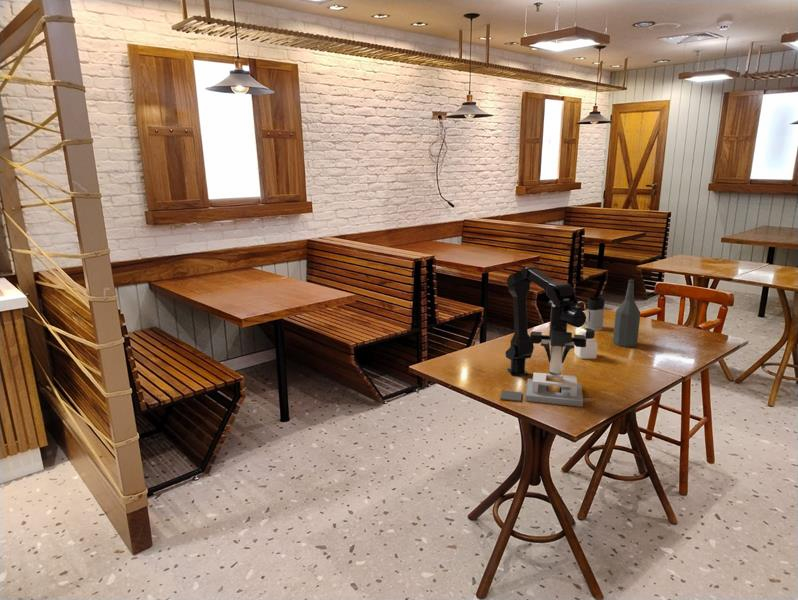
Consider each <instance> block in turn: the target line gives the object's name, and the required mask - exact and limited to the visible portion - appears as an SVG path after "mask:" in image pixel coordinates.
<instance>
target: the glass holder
mask: <svg viewBox="0 0 798 600" xmlns="http://www.w3.org/2000/svg"><path fill="white" fill-rule="evenodd" d="M605 301H606V299H605V298H603V297H597V296H592V297H588V301H587V302H588V304H587V308H586V303H585V301H582V300H581V301H580V300H579V301H577V302H578V304H579V303H583V305H584V310H585V311H586V321H585V326H584V328H590V329H593V330H594V331H603V330H604V316H605ZM575 306H578V305H575ZM602 329H603V330H602Z"/></svg>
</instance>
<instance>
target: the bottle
mask: <svg viewBox="0 0 798 600" xmlns="http://www.w3.org/2000/svg"><path fill="white" fill-rule="evenodd" d="M627 281H628V284H627V289H626V292H625V296H624V300H623V302H622V303H621V304H620V305H619V306H618V308H617V309H616V310H615V315H614V325H613V326H614V327H613V338H612V342H613V344H614V345H616V346H619V347H621V348H622V347H623V348H633V347H636V345H638V341H639V340H638V339H639V331H640V321H641V311H640V309H639V308H638V305H637V303H636V302H635V298H634V297H635V293H634V291H635V289H634V288H635V284H634V283H635V280H634V279H628V280H627Z"/></svg>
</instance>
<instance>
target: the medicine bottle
mask: <svg viewBox="0 0 798 600" xmlns="http://www.w3.org/2000/svg"><path fill="white" fill-rule="evenodd" d="M595 332H596V330H593V329H590V328H585V327H584V328H580V329H579V334H578V335H584V336H585V337H586V347H576V346H575V345H574V350H573V351H574V354H575V356H576V357H578V358H579V359H580V360H585V359H586V360H587V359H588V360H590V359H592V360H593V359H595V360H596V359H597V356H598V355H597V353H598V346H599V345H598V342H597V341H596V340H595V335H596V334H595Z"/></svg>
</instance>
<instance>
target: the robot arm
mask: <svg viewBox="0 0 798 600" xmlns="http://www.w3.org/2000/svg"><path fill="white" fill-rule="evenodd" d="M532 283H533V284H534V285H537V286H538V287H539V288H541V289H542V290H543V291H545V295H546V296H547V297H548V298H549V299H550V300H549V301H548V302H547V305H549V306H551V309H550V322H549V331H548V332H549V334H548V335H547V334H545V335H544V334H543V332H542V331H531V332H530V334H529V333H528V312H527V311H528V310H527V295H528V293H529V291H530V290H531V289H530V288H531V284H532ZM506 284H507V289H508V292H509V294H510V295H511V296H512V305H513V306H512V307H513V308H512V309H513V310H512V311H513V327H514V330H513V331H514V334H513V336H512V337H511V340H510V346H509V348H508V349H507V350H506V351H505V358H507V359H509V361H510V368H509V367H508V368H507V371H508V373H509V374H510V373H511V374H510V375H511V376H513V375H514V376H528V375H529V374H528V371H526V363H527V360H526V359H531V358H532V355H533V353H534V349H535V345H534V344H538V345H539V344H540V346H541V347H543V348H544V349H545V353H546V356H547V360H548V363H550V357H551V346H560V347H563V355H562V364H563V363H564V362H565V360H566V358H567V355H568V353H569V352H570V351H571V350H572V349H575V346H576V347H586V337H585V336H584V335H579V334H575V333H574V334H573V333H572V332H569V331H568V325H570V326H572V327H574V328H581V327H583V326H584V325H585V324H586V322H585V321H586V320H587V314H586V313H585V312H584V311H583V307H582V306H578V305H579V303H578V302H579V301H578V298H577V297H576V295H575V292H574V289H573V287H572V285H571V284H569V283H567V282H564V281H561V280H560V281H559V280H555V279H554V278H552V277H551V276H549V275H547V274H545V273H544V272H542V271H541V270H540V269H538V267H536V266H527V267H524V268H522V269H521V270H519V271H516V272H515V273H513V274H512V273H511V274H510V275H509V276H508V277H507V279H506ZM576 305H577V306H576Z"/></svg>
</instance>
